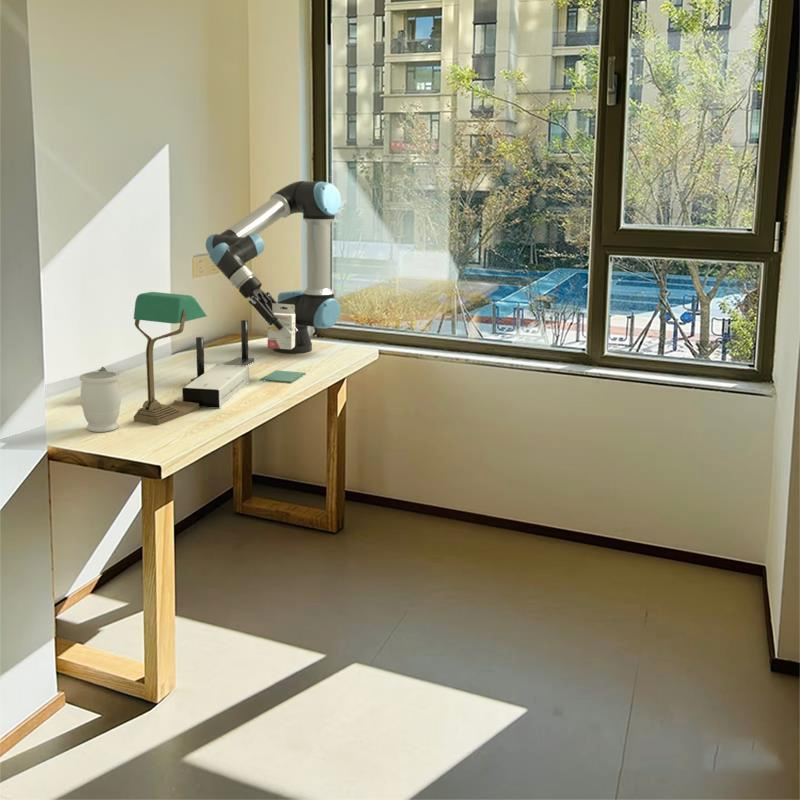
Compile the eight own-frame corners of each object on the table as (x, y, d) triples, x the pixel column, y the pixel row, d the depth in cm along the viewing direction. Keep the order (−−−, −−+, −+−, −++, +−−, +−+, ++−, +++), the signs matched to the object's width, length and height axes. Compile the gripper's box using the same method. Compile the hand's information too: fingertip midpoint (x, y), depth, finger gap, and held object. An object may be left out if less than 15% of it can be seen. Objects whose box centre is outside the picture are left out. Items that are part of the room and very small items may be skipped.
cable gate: (238, 360, 341) (238, 319, 338) (254, 362, 340) (253, 320, 336) (191, 383, 305) (189, 337, 302) (207, 385, 304) (206, 338, 300)
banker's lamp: (123, 419, 263) (116, 296, 254) (168, 403, 281) (164, 288, 272) (169, 426, 257) (164, 301, 248) (212, 409, 275) (209, 292, 266)
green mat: (276, 371, 325) (276, 370, 325) (305, 374, 323) (305, 372, 323) (260, 380, 312) (260, 378, 312) (291, 383, 310) (291, 381, 310)
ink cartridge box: (267, 348, 313) (267, 304, 309) (271, 345, 317) (271, 302, 314) (291, 349, 311) (291, 306, 308) (295, 347, 316) (295, 304, 313)
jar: (89, 422, 259) (86, 370, 255) (126, 423, 259) (124, 371, 255) (77, 433, 248) (73, 379, 245) (116, 434, 249) (113, 380, 245)
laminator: (219, 409, 277) (218, 389, 275) (179, 407, 278) (178, 387, 276) (249, 383, 309) (249, 365, 308) (213, 381, 310) (212, 363, 309)
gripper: (249, 286, 322) (294, 336, 322) (227, 293, 305) (274, 346, 305) (263, 272, 319) (308, 322, 320) (242, 278, 302) (289, 331, 303)
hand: (291, 334), depth 312 cm, fingers closed on ink cartridge box, 5 cm apart
